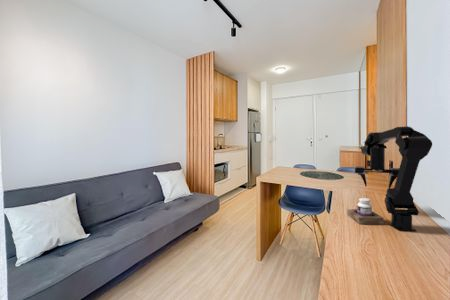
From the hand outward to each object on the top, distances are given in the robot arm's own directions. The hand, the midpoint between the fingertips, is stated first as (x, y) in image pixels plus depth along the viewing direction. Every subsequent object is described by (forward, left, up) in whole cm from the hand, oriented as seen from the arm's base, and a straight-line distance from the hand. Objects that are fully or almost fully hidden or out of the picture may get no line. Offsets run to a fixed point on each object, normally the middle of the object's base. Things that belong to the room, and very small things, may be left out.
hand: (377, 187), depth 97 cm
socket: (-10, +12, -12) cm, 20 cm away
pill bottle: (-10, +12, -13) cm, 20 cm away
